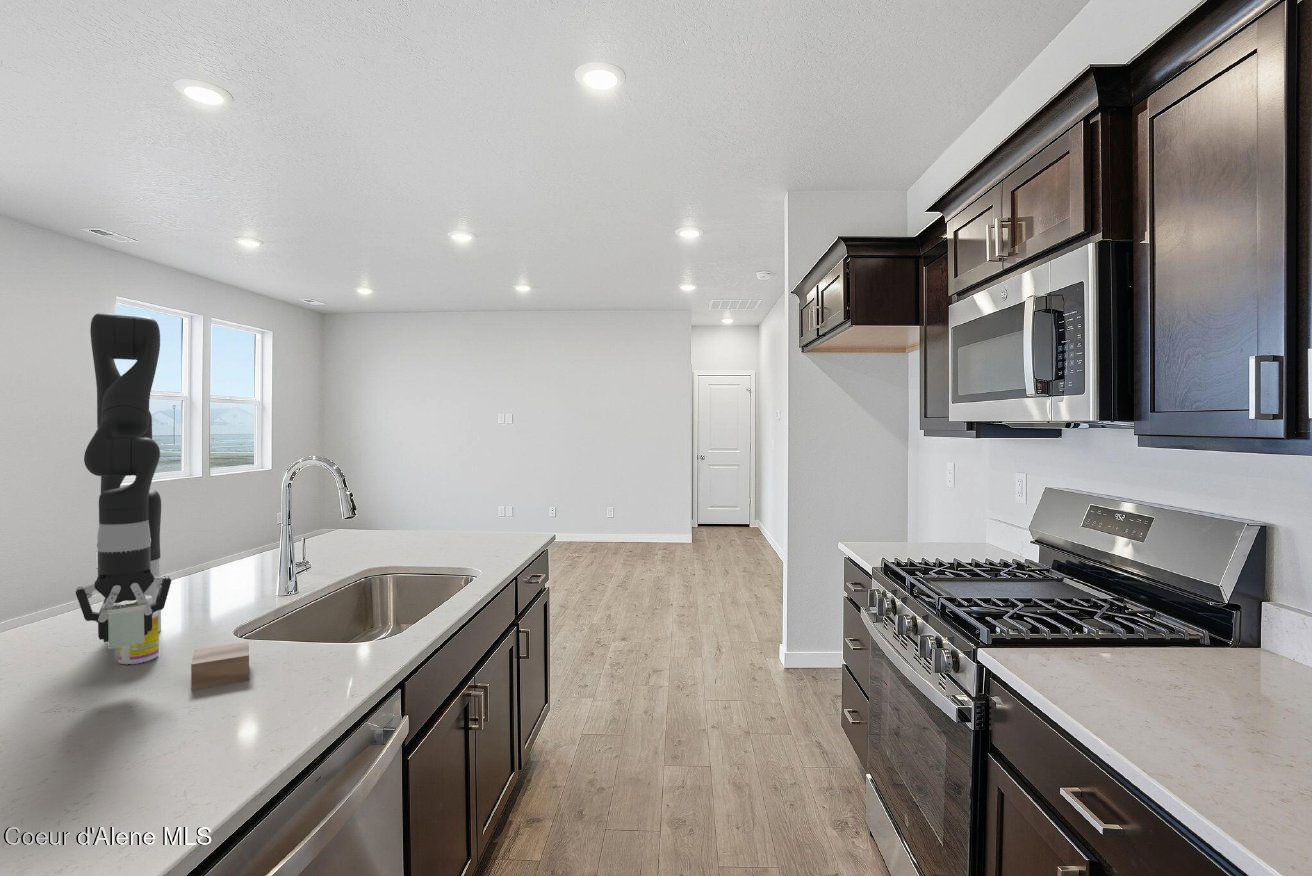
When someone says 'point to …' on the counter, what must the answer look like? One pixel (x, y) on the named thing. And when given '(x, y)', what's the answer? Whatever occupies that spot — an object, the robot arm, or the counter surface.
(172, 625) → the counter surface
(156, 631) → the supplement bottle
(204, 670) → the walnut block
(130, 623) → the tea tin
